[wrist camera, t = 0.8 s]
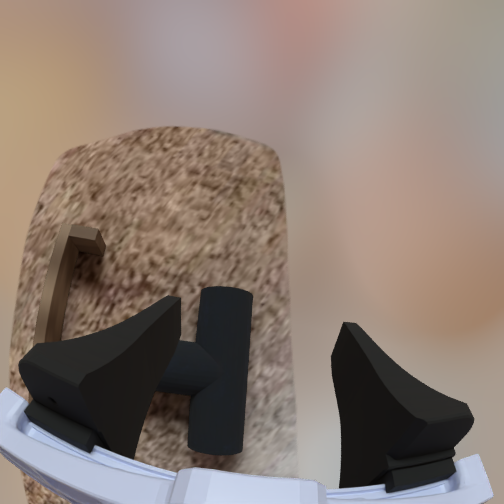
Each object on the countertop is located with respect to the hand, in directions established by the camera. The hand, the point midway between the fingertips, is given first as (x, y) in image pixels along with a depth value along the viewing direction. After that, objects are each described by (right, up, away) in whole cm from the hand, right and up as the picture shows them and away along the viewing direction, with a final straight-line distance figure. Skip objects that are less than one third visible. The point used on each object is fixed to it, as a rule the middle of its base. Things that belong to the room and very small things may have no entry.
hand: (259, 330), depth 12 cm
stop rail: (-19, -5, +11) cm, 22 cm away
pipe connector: (-7, -8, +14) cm, 18 cm away
